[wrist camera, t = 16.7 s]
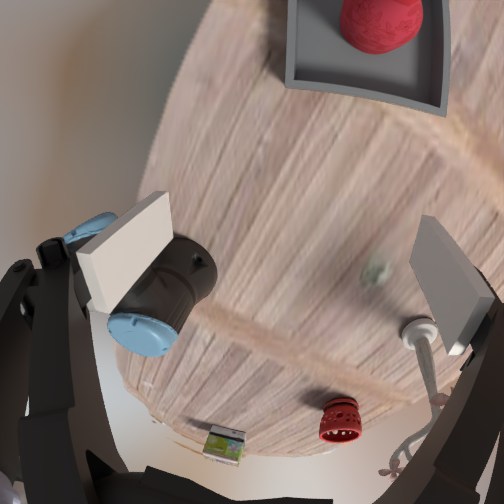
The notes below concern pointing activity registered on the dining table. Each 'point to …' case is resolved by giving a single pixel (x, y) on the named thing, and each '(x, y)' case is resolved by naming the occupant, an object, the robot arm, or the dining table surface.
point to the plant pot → (340, 421)
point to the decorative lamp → (419, 339)
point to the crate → (369, 58)
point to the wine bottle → (380, 23)
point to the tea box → (224, 445)
